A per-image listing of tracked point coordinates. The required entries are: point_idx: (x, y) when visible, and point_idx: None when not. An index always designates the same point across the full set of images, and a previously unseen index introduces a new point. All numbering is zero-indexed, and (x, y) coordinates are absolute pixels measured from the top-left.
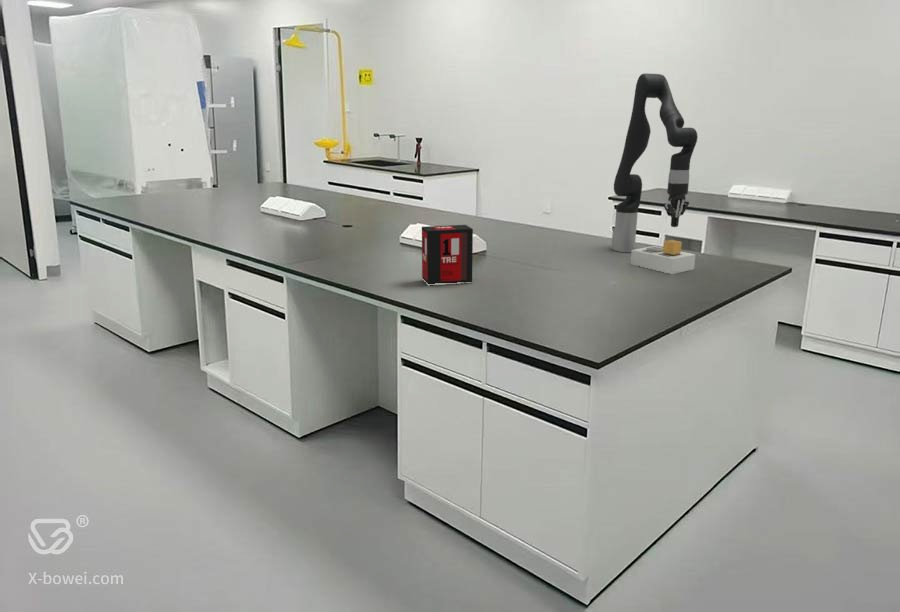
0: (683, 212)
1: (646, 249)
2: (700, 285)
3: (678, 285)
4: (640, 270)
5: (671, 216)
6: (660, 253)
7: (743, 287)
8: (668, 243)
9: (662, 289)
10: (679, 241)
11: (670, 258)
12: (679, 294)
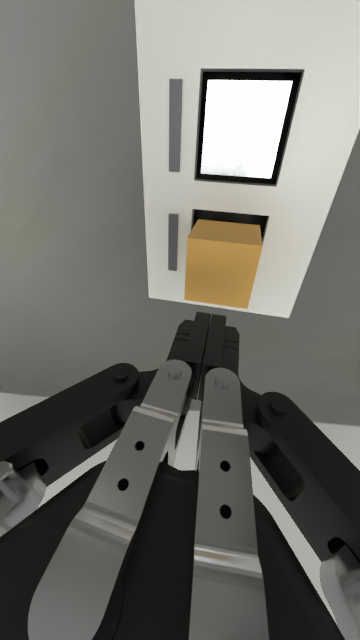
0: (279, 459)
1: (208, 83)
2: (136, 357)
3: (95, 330)
4: (118, 164)
5: (152, 375)
6: (195, 207)
7: (193, 407)
8: (187, 266)
9: (43, 322)
10: (248, 297)
11: (149, 287)
12: (53, 354)
